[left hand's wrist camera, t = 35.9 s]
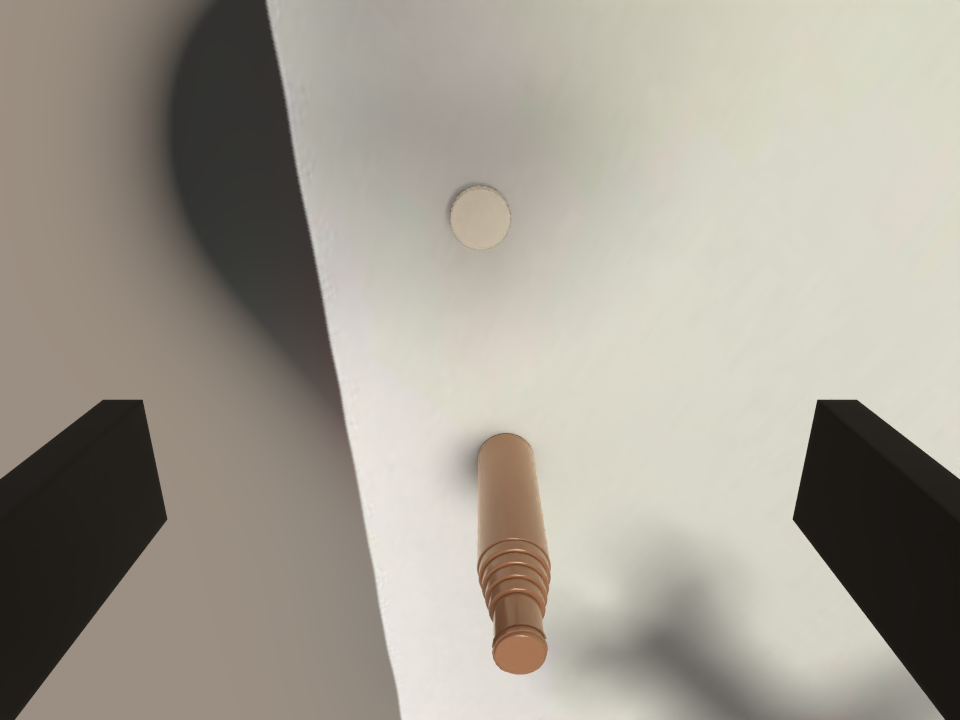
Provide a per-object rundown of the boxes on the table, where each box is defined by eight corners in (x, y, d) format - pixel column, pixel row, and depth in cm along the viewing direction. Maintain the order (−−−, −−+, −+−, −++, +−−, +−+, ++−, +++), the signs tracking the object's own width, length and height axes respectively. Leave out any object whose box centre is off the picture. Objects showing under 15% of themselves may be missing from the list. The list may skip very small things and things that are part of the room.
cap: (484, 256, 44) (484, 263, 42) (439, 219, 43) (436, 224, 41) (521, 210, 43) (523, 215, 41) (475, 172, 42) (475, 175, 40)
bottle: (501, 423, 48) (513, 606, 30) (545, 453, 49) (582, 649, 31) (466, 462, 49) (459, 661, 32) (510, 491, 50) (526, 701, 33)
